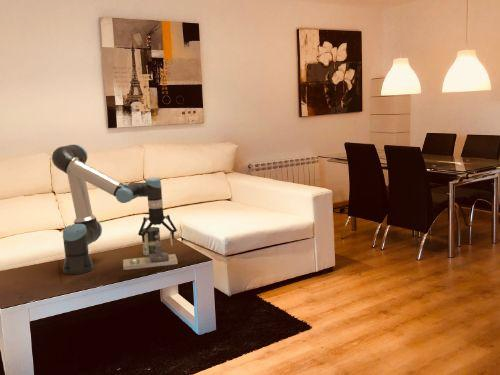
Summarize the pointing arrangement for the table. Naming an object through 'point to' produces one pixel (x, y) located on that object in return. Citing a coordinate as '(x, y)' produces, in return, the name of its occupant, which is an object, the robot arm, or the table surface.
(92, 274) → the table surface
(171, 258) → the base plate
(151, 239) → the coffee can
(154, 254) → the wing knob
